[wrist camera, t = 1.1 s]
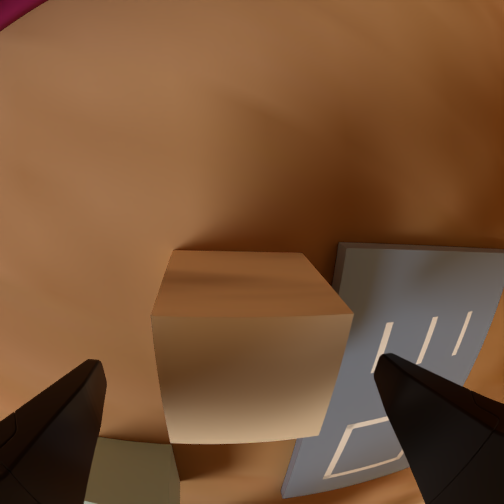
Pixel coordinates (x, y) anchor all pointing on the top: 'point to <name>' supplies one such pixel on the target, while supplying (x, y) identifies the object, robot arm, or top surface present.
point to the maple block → (246, 346)
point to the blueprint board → (394, 349)
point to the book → (15, 10)
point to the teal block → (132, 474)
